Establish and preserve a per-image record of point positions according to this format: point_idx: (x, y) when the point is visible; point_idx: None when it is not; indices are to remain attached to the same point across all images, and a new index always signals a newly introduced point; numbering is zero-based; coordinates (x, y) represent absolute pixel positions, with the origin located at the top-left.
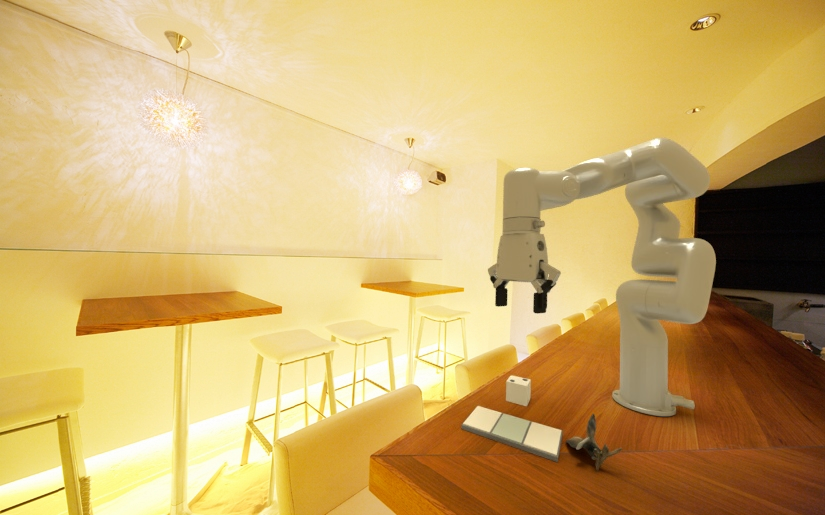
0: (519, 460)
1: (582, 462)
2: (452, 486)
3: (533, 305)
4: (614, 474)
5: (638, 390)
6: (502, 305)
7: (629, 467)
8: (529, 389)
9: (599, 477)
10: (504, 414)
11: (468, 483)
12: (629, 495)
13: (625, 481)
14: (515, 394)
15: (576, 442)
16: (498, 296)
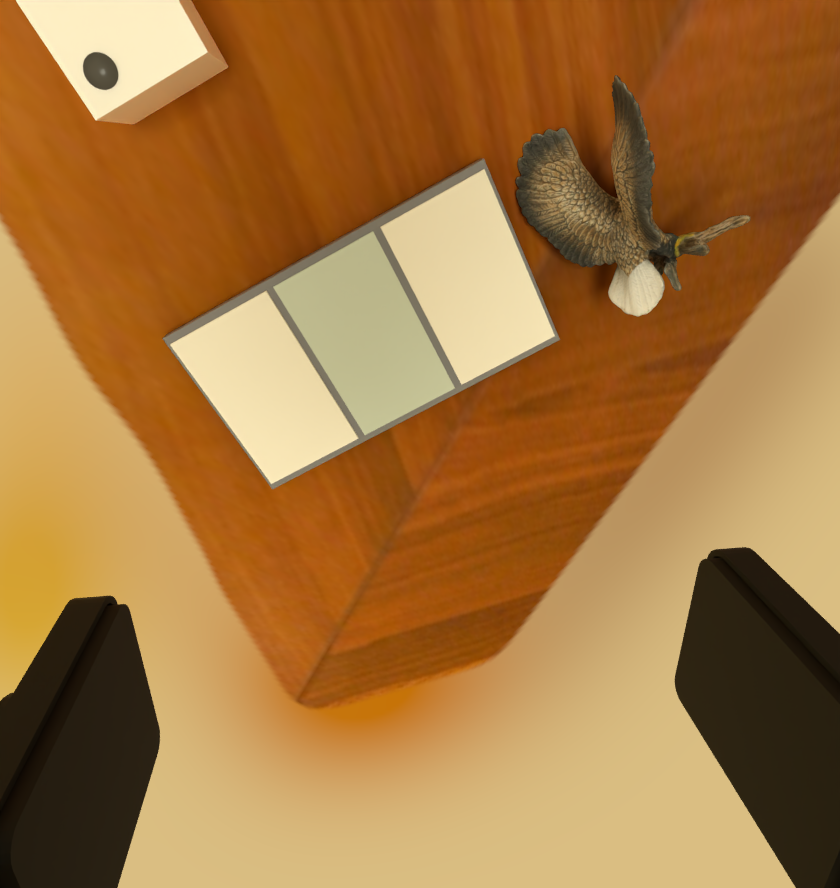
0: (486, 430)
1: None
2: (462, 623)
3: (714, 753)
4: (683, 225)
5: None
6: (145, 680)
7: (706, 135)
8: None
9: None
10: (282, 291)
11: (474, 591)
12: (732, 281)
13: None
14: (165, 95)
15: (587, 247)
16: (119, 867)
